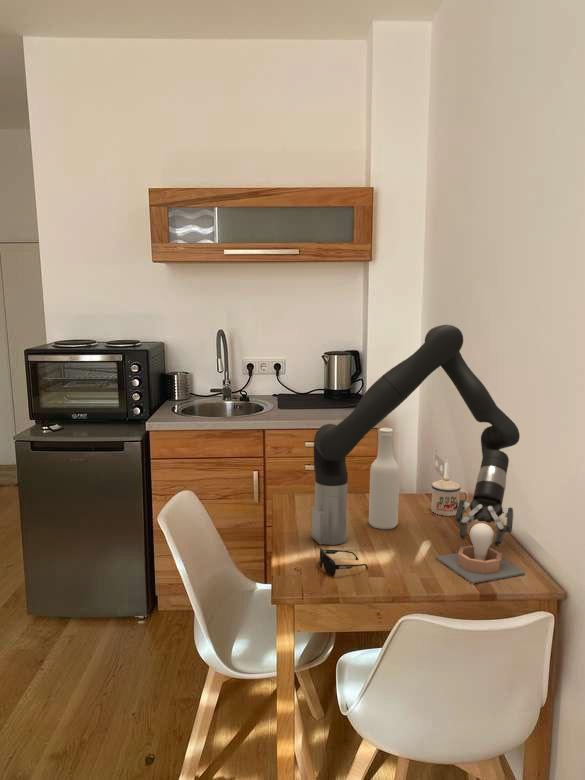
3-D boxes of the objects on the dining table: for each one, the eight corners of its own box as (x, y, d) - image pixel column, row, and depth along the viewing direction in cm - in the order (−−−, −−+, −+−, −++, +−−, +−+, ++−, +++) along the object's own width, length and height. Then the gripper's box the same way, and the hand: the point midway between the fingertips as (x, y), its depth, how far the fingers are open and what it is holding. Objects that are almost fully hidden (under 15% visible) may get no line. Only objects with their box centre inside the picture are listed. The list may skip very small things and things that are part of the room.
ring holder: (472, 584, 156) (473, 570, 156) (435, 558, 171) (436, 546, 170) (524, 574, 162) (525, 561, 161) (484, 550, 177) (485, 538, 176)
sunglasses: (312, 562, 169) (315, 544, 168) (353, 562, 173) (356, 544, 172) (328, 579, 159) (330, 560, 158) (371, 578, 163) (373, 560, 162)
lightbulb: (494, 569, 164) (498, 529, 162) (470, 568, 164) (474, 528, 162) (487, 559, 170) (491, 519, 168) (464, 558, 170) (468, 519, 168)
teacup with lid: (434, 516, 203) (436, 481, 201) (427, 507, 212) (428, 473, 210) (471, 516, 203) (473, 481, 201) (463, 507, 212) (465, 473, 210)
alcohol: (395, 519, 200) (399, 426, 195) (399, 530, 191) (403, 432, 186) (367, 519, 200) (370, 425, 195) (369, 529, 191) (372, 432, 187)
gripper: (462, 476, 173) (449, 530, 165) (517, 483, 167) (507, 540, 158) (465, 489, 179) (453, 542, 170) (518, 497, 172) (509, 553, 164)
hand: (479, 541), depth 164 cm, fingers open, 8 cm apart
